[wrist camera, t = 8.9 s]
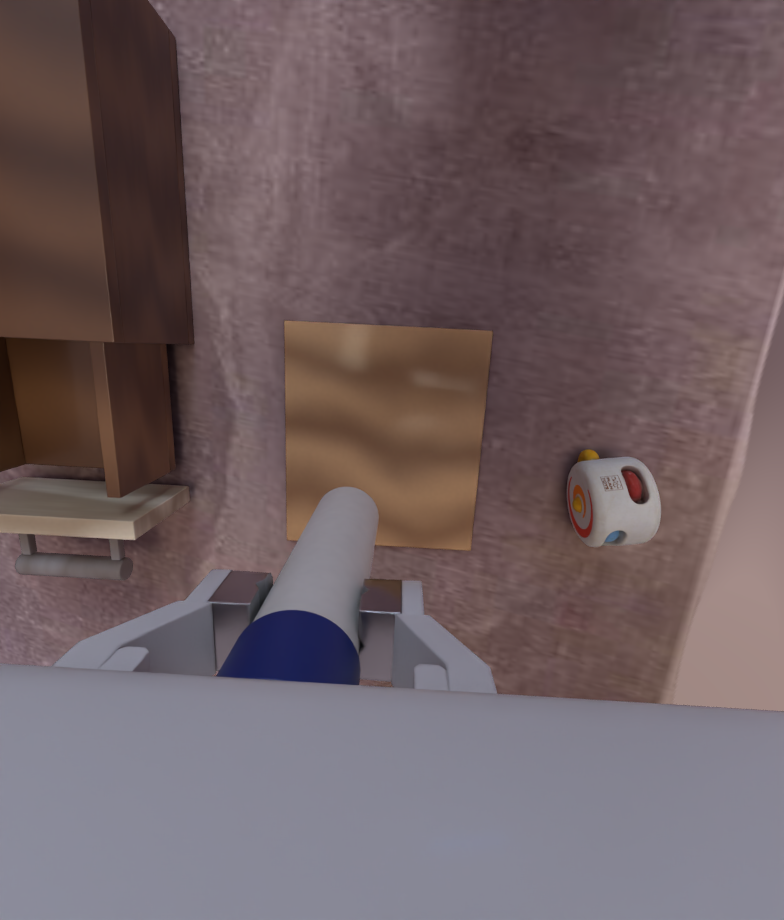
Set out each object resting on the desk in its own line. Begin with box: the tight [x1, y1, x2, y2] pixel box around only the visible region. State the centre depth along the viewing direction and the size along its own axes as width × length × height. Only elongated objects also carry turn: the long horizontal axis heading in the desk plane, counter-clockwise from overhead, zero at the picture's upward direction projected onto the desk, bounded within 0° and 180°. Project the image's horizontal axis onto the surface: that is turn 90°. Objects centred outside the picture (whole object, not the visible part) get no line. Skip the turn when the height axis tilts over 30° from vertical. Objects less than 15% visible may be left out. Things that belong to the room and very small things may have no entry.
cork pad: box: [284, 320, 493, 551], centre depth 31 cm, size 16×14×1 cm
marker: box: [216, 487, 379, 685], centre depth 12 cm, size 3×3×10 cm
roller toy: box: [567, 449, 661, 547], centre depth 29 cm, size 4×6×6 cm
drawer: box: [0, 337, 190, 580], centre depth 27 cm, size 21×12×7 cm, turn 177°
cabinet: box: [0, 0, 194, 345], centre depth 24 cm, size 18×14×9 cm
